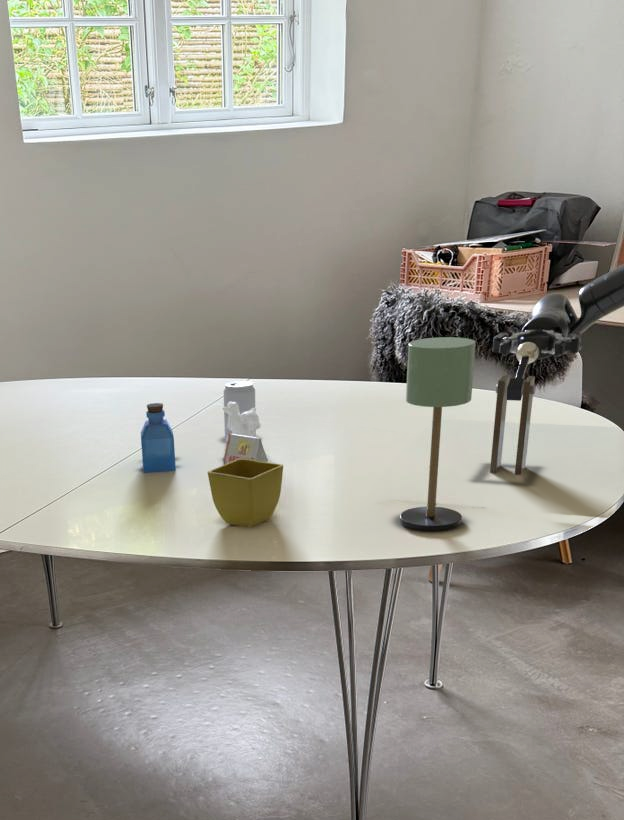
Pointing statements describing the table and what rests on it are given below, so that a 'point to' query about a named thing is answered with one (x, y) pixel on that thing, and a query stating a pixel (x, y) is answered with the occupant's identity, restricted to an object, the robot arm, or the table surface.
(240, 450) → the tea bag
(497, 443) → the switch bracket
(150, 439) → the blue corked bottle
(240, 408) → the beverage can
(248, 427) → the white animal figurine
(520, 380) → the lamp switch
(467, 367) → the desk lamp
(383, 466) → the table surface
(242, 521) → the flower pot
